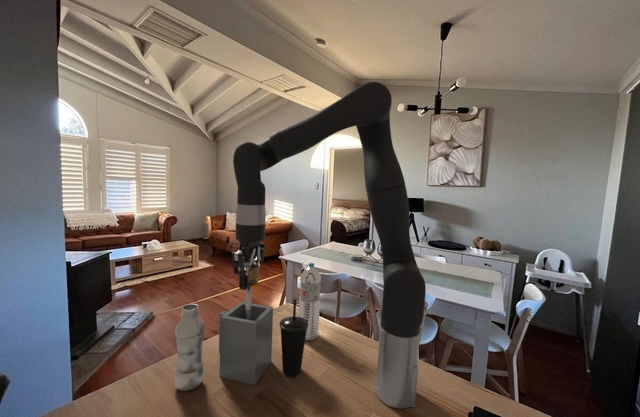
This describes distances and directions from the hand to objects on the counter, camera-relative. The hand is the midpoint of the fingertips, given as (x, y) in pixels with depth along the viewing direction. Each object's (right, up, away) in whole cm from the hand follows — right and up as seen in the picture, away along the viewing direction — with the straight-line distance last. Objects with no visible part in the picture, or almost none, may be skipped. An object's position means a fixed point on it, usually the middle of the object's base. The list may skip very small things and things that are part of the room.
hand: (248, 285), depth 74 cm
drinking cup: (+11, -24, +2) cm, 27 cm away
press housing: (-3, -23, +2) cm, 23 cm away
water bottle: (+15, -23, +20) cm, 33 cm away
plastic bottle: (-13, -24, -5) cm, 28 cm away
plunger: (-1, -16, +1) cm, 16 cm away
